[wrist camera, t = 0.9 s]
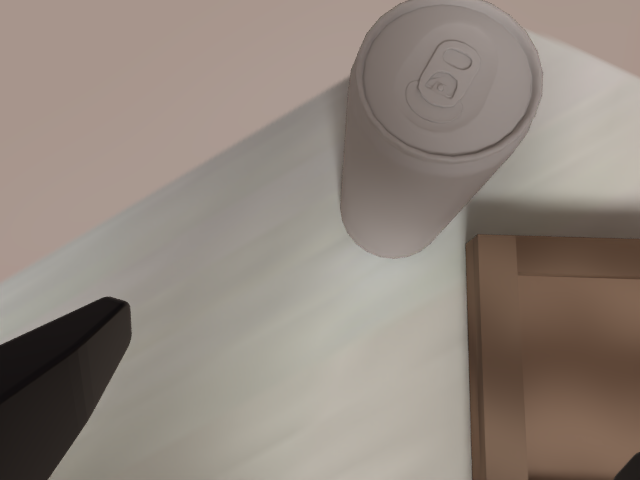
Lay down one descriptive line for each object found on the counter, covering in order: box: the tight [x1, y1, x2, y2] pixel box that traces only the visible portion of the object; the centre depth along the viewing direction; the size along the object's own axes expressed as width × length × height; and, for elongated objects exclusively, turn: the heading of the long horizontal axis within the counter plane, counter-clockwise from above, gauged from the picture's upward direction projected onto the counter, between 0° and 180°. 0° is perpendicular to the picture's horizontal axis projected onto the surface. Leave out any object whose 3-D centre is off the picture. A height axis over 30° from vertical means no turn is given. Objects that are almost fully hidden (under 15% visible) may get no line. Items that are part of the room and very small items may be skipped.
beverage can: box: [340, 0, 543, 259], centre depth 18 cm, size 5×5×12 cm
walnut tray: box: [466, 234, 640, 480], centre depth 21 cm, size 12×12×2 cm
